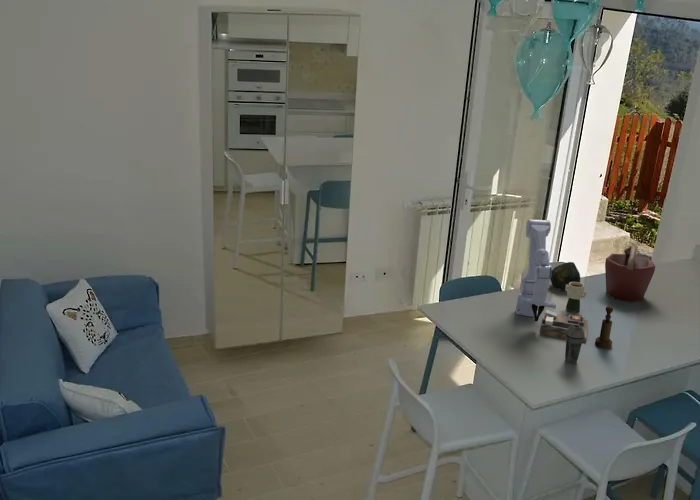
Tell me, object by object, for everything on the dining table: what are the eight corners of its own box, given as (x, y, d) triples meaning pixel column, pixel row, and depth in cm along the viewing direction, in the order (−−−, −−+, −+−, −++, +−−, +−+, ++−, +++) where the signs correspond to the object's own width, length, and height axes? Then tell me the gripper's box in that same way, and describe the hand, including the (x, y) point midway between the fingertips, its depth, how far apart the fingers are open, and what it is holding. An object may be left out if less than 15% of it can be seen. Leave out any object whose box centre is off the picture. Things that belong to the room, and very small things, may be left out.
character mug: (587, 312, 323) (591, 286, 319) (578, 315, 319) (582, 289, 314) (567, 304, 331) (571, 279, 327) (558, 307, 327) (562, 282, 322)
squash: (540, 275, 352) (560, 260, 342) (555, 270, 362) (576, 255, 352) (555, 299, 347) (577, 284, 337) (570, 293, 357) (592, 278, 347)
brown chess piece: (611, 343, 292) (618, 304, 286) (611, 350, 286) (618, 310, 280) (594, 340, 294) (601, 301, 288) (594, 347, 288) (601, 307, 282)
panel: (539, 333, 298) (541, 325, 297) (543, 316, 316) (545, 308, 315) (585, 342, 292) (587, 333, 291) (587, 324, 310) (588, 315, 309)
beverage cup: (558, 357, 278) (565, 311, 272) (576, 357, 279) (583, 311, 272) (565, 365, 271) (572, 319, 265) (583, 365, 272) (591, 319, 265)
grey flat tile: (544, 314, 310) (545, 312, 310) (545, 311, 313) (546, 309, 313) (555, 318, 309) (556, 316, 308) (556, 315, 312) (557, 313, 312)
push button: (571, 321, 306) (571, 318, 306) (571, 318, 310) (572, 315, 309) (580, 323, 305) (581, 320, 304) (580, 320, 308) (581, 316, 308)
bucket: (610, 283, 361) (618, 238, 353) (654, 294, 348) (663, 247, 341) (595, 297, 342) (603, 249, 334) (642, 309, 330) (651, 259, 322)
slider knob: (544, 327, 299) (545, 320, 297) (545, 323, 303) (546, 316, 302) (551, 329, 298) (552, 321, 296) (552, 324, 302) (553, 317, 301)
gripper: (522, 292, 296) (518, 321, 300) (556, 297, 291) (552, 327, 296) (524, 286, 302) (520, 315, 306) (558, 292, 298) (553, 320, 302)
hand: (536, 320), depth 301 cm, fingers closed
